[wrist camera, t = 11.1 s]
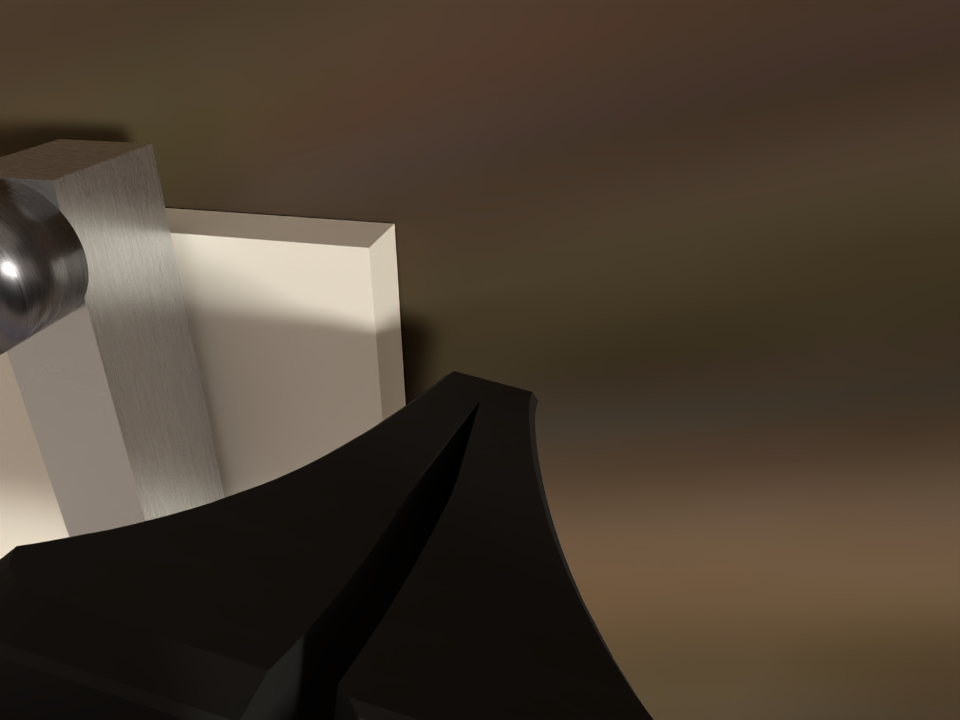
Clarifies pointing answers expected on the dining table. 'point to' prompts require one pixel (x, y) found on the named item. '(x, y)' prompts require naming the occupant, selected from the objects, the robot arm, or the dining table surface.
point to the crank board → (254, 352)
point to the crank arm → (102, 334)
